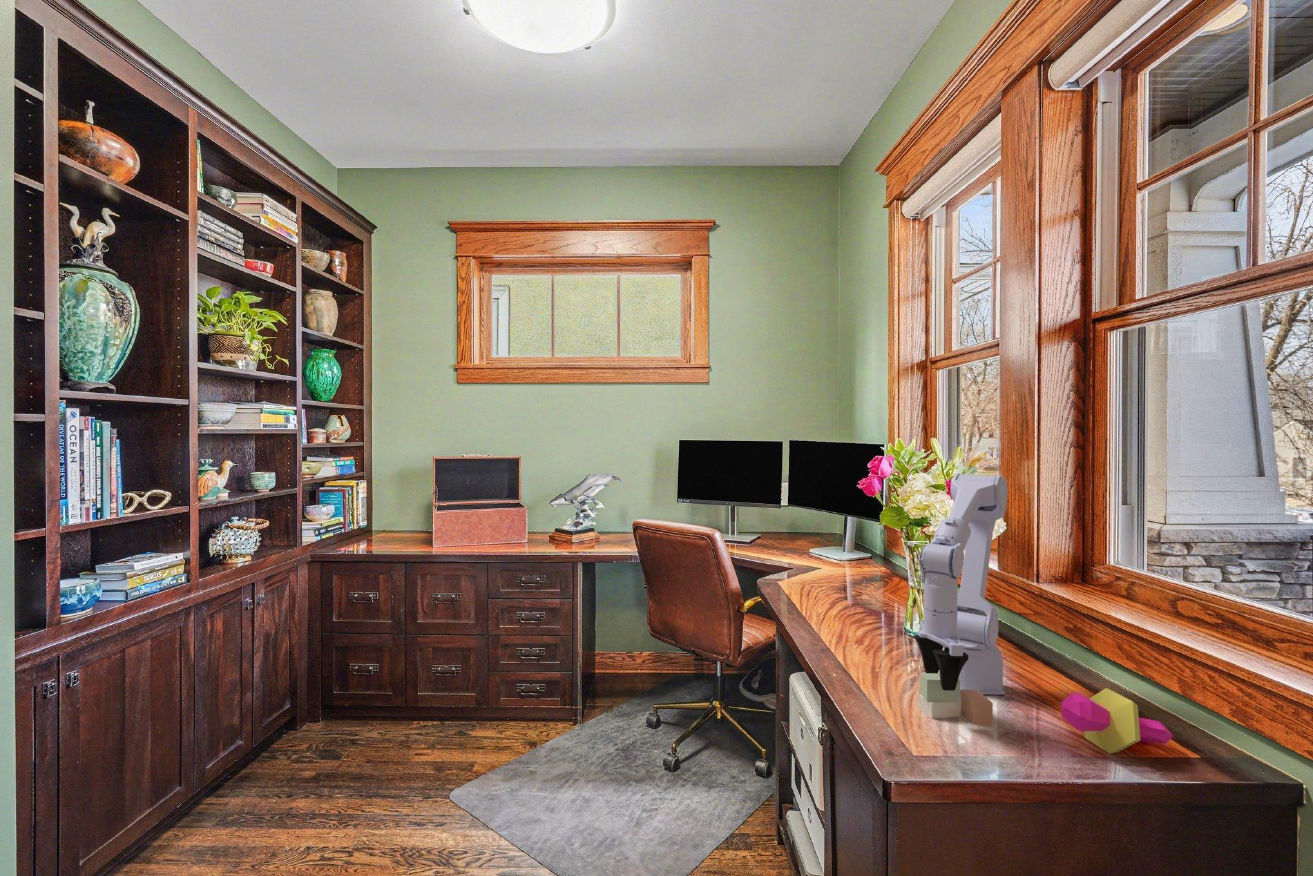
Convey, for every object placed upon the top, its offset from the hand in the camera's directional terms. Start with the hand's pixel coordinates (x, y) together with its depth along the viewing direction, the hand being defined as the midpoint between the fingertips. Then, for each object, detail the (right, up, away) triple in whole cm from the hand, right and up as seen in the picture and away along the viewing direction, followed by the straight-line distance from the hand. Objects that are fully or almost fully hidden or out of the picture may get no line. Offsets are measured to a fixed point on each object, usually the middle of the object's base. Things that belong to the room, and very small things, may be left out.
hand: (939, 681), depth 120 cm
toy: (+23, -6, -13) cm, 27 cm away
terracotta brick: (+6, -6, -2) cm, 9 cm away
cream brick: (0, -6, 0) cm, 6 cm away
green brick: (0, -3, 0) cm, 3 cm away
